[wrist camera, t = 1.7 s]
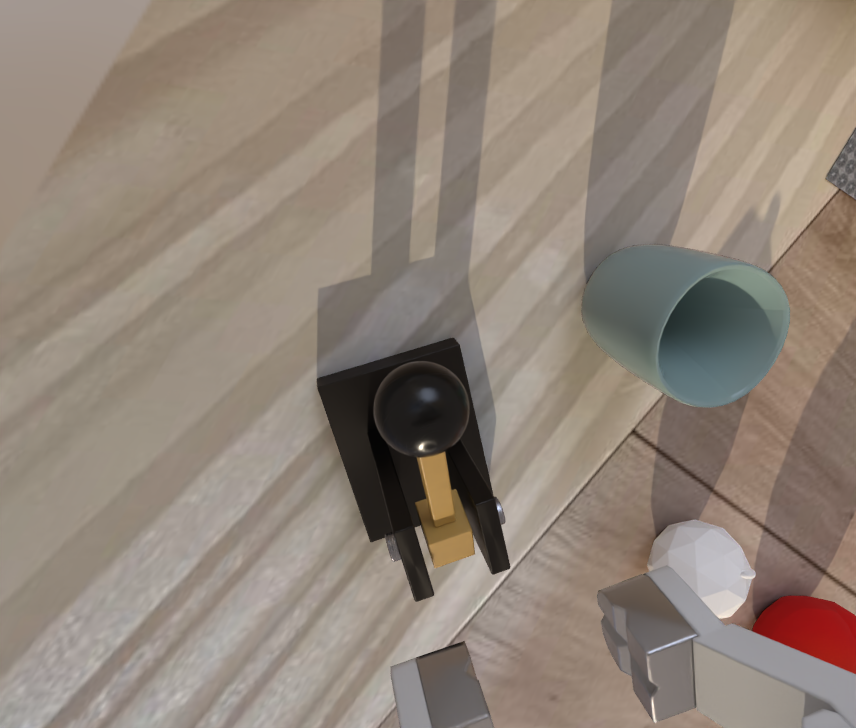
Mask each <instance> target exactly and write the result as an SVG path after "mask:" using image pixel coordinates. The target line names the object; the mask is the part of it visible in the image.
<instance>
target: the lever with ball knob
mask: <svg viewBox="0 0 856 728" xmlns="http://www.w3.org/2000/svg"><path fill="white" fill-rule="evenodd" d="M373 411H374V419H375V424H376V426H377V429H378V431H379V433H380V435H381V436H382V438H383V439H384V440H385V441H386V443H387V444H389V445H390V446H391V447H392V448H393V449H395V450H396V451H398V452H400V453H402V454H404V455H407V456H411V457H417V461H418V465H419V469H420V473H421V478H422V482H423V486H424V490H425V495H426V499H424V500H421V501H418V502H415V505H416V509H417V513H418V517H419V520H420V524H421V528H422V531H423V534H424V537H425V540H426V543H427V546H428V550H429V553H430V556H431V559H432V562H433V565H434V568H437V567H440V566H443V565H446V564H449V563H451V562H454V561H457V560H460V559H463V558H466V557H469V556H471V555H474V554H475V550H474V542H473V534H472V528H471V526H470V523H469V521H468V518H467V516H466V513H465V510H464V508H463V505H462V503H461V500H460V498H459V495H458V492H457V490H456V489H454V490H451V485H450V479H449V472H448V466H447V460H446V454H445V451H446V450H448V449H450V448H451V447H452V446H453V445H454V444H455V443H456V442H457V441H458V440H459V439H460V437H461V436H462V434H463V433H464V431H465V429H466V426H467V423H468V419H469V400H468V395H467V393H466V390H465V388H464V386H463V384H462V383H461V381H460V380H459V379H458V377H457V376H456V375H455V374H454V373H452V372H451V371H450V370H448V369H447V368H445V367H443V366H441V365H439V364H436V363H433V362H427V361H416V362H410V363H407V364H404V365H402V366H399V367H398V368H396V369H394V370H393V371H392V372H391V373H389V374H388V375H387V376H386V378H385V379H384V380H383V381H382V383H381V384H380V386H379V388H378V390H377V392H376V395H375V399H374V406H373Z"/></svg>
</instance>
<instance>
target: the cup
mask: <svg viewBox="0 0 856 728" xmlns="http://www.w3.org/2000/svg"><path fill="white" fill-rule="evenodd" d="M581 313H582V320H583V323H584V325H585V327H586V330H587V332H588V334H589V335H590V337H591V338H592V339H593V341H594V342H595V343H596V345H597V346H598V347H599V348H600V349H601V350H602V351H603V352H605V353H606V354H607V355H608V356H609V357H610V358H612V359H613V360H614V361H615V362H617V363H618V364H619V365H620V366H622V367H623V368H625V369H626V370H627V371H629V372H630V373H632V374H633V375H635V376H636V377H638V378H639V379H641V380H642V381H644V382H645V383H647V384H649V385H650V386H652V387H653V388H655V389H656V390H658V391H660V392H661V393H663V394H665V395H667V396H669V397H671V398H672V399H674V400H676V401H678V402H680V403H683V404H687V405H691V406H694V407H703V408H710V407H718V406H723V405H726V404H729V403H731V402H734V401H736V400H738V399H739V398H741V397H743V396H744V395H746V394H747V393H748V392H749V391H751V390H752V389H753V388H754V387H755V386H756V385H757V384H758V383H759V382H760V381H761V380H762V379H763V378H764V377H765V375H766V374H767V373H768V371H769V370H770V368H771V367H772V366H773V364H774V363H775V361H776V359H777V357H778V355H779V353H780V352H781V350H782V347H783V345H784V342H785V339H786V337H787V333H788V328H789V323H790V307H789V303H788V298H787V296H786V294H785V292H784V290H783V288H782V286H781V284H780V283H779V282H778V281H777V280H776V279H775V278H774V277H773V276H772V275H771V274H769V273H768V272H766V271H765V270H763V269H762V268H760V267H758V266H755V265H753V264H750V263H748V262H745V261H742V260H739V259H735V258H731V257H727V256H722V255H718V254H714V253H709V252H705V251H700V250H695V249H690V248H684V247H677V246H671V245H663V244H643V245H633V246H630V247H626V248H623V249H620V250H618V251H616V252H614V253H613V254H611V255H609V256H608V257H607V258H606V259H605V260H604V261H603V262H601V263H600V264H599V266H598V267H597V268H596V269H595V271H594V272H593V274H592V275H591V277H590V279H589V280H588V283H587V285H586V287H585V290H584V294H583V298H582V308H581Z"/></svg>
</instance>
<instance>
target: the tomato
mask: <svg viewBox="0 0 856 728" xmlns="http://www.w3.org/2000/svg"><path fill="white" fill-rule="evenodd" d="M752 632H755V633H757V634H760V635H762V636H764V637H767V638H769V639H772V640H774V641H777V642H779V643H781V644H784V645H786V646H789V647H791V648H794V649H796V650H798V651H801V652H803V653H806V654H808V655H810V656H813V657H815V658H818V659H820V660H823V661H825V662H827V663H830V664H832V665H835V666H837V667H839V668H842V669H844V670H847V671H849V672H852V673H854V674H856V616H855V615H854V614H853V613H851V612H849V611H848V610H846V609H844V608H843V607H841V606H840V605H838V604H836V603H835V602H832V601H827V600H823V599H818V598H814V597H809V596H784V597H781V598H779V599H778V600H777V601H775V602H774V603H773V604H771V605H770V606H769V607H768V608H766V609H765V610H764V611H763V612H762V613H761V615H760V616H759V618H758V619H757V621H756V622H755V624H754V626H753V630H752Z"/></svg>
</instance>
